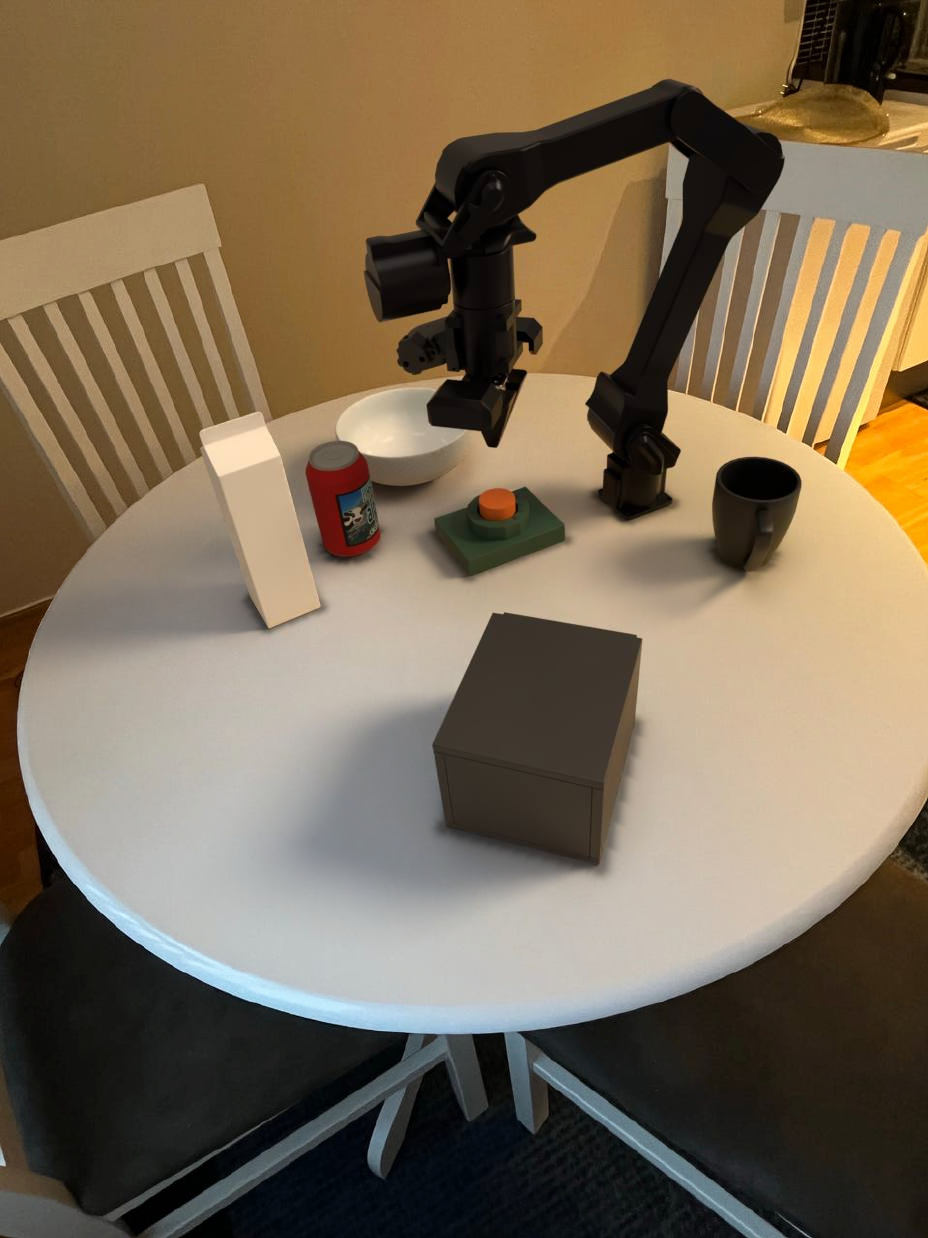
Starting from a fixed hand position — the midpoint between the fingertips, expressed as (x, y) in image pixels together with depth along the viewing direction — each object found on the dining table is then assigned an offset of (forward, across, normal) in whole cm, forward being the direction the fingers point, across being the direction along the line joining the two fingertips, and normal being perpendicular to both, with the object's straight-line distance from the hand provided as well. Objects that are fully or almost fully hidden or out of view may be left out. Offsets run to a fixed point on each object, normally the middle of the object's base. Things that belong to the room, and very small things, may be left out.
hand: (493, 445), depth 87 cm
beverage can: (+12, +5, -16) cm, 21 cm away
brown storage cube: (+12, +30, +14) cm, 35 cm away
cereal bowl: (+12, -11, -16) cm, 23 cm away
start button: (+8, 0, 0) cm, 8 cm away
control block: (+12, 0, 0) cm, 12 cm away
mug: (+12, -2, +27) cm, 30 cm away
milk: (+12, +16, -19) cm, 28 cm away
